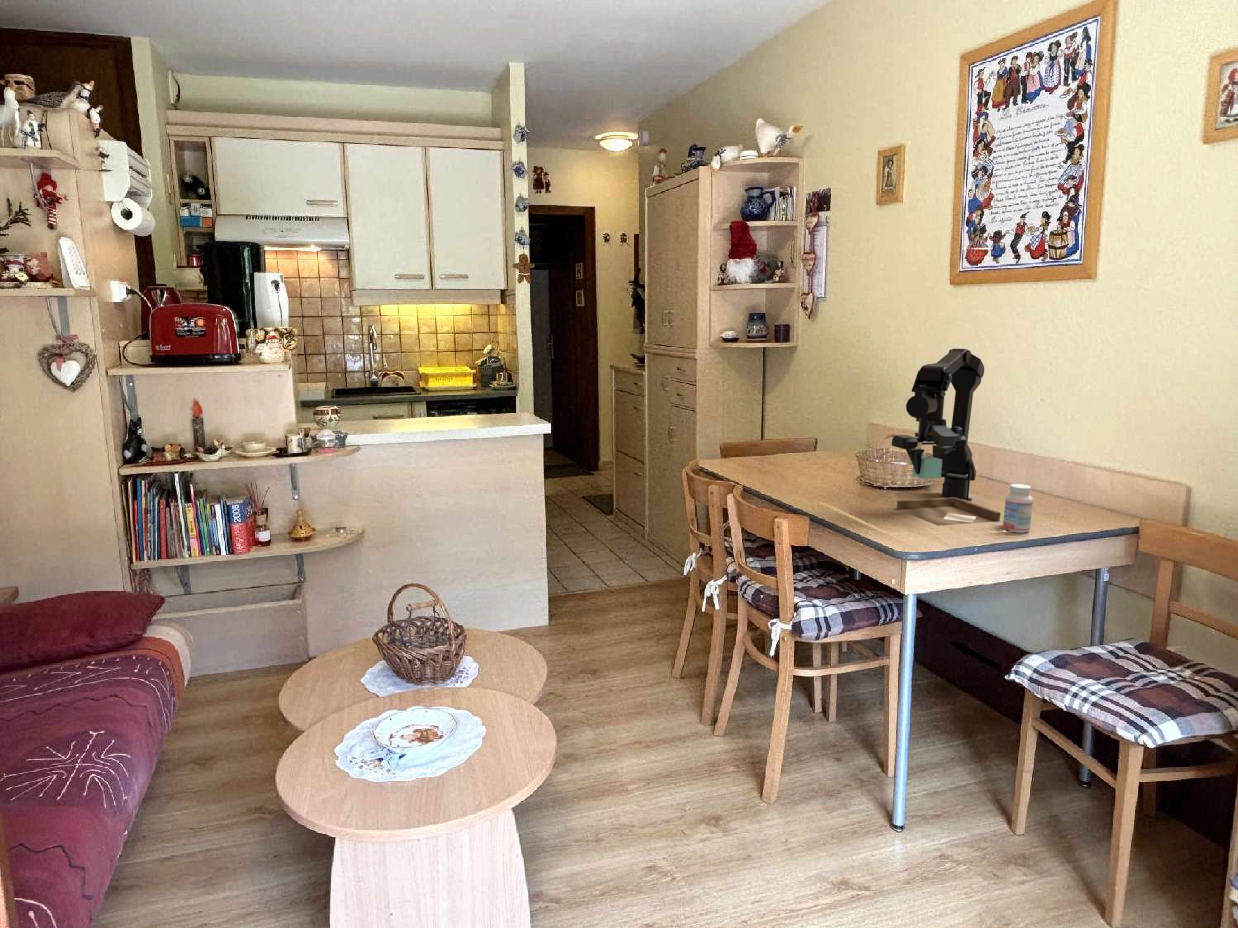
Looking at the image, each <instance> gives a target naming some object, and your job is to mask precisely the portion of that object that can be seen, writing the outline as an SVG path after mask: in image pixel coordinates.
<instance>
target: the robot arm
mask: <svg viewBox="0 0 1238 928" xmlns="http://www.w3.org/2000/svg"><path fill="white" fill-rule="evenodd" d="M982 361H983V360H982V359H981V358H979V357H977V356H976V355H974V354H972V351H971V350H970V349H967V348H952V349H949V350H948V353H946V354H945V355H944V356H943V357H941V359H939V360H938V361H937V362H935V363H934V362H933V363H928V364H924V365H922V366H921V367H920V369H919V370H918V371H917V374H916V375H915V380H914V382H913V385H912V388H911V393H914V395H912V396H910V398H908V399H907V402H906V404H905V410H906V412H907V414H908V415H909V416H910V417H912V418H915V421H916V422H918V430H917V432H915V433H914V436H912V435H908V434H899V435H897V434H896V435H893V438H892V439H891V446H892V447H895V448H899V449H902V450H905V451H906V454H907V455H908V458H909V459H910V463H911V464H912V468H913V467H914V470H915V472H916V474H920V469H921V456H922V455H923V453H924V452H925V449H923V448H922V445H923V446H927V445H929V446H930V445H931V446H932V457H936V458H939V459H942V469H941V478H944V479H943V483H942V489H941V490H942V491H941V498H950V497H956V498H959V499H962V500H965V501H968V502H970V501H971V502H972V501H973V498H971V497H970V495H969V494H970V485H971V484H970V482H971V481H976V474H977V470H976V467H975V464H974V461H973V452H972V450H971V449H970V446H969V445H968V442H969V441H968V440H969V433H970V423H971V415H972V414H971V413H972V406H973V400H974V399H973V398H974V392H975V391H976V390H977V389H978V387H979V386H980V385H981V383H982V378H983V377H984V374H985V365H984V363H983V362H982ZM951 384H952V387H953V389H954V391H955V394H954V402H953V410H952V420H951V427H948V426H947V419H945V418H944V407H945V396H946V392H947V391H948V389H949V387H950V385H951Z"/></svg>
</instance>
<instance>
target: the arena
mask: <svg viewBox="0 0 1238 928" xmlns="http://www.w3.org/2000/svg"><path fill="white" fill-rule="evenodd" d="M896 509H897V510H898V511H901V512H903V513H906V514H909V515H911V516H913V517H915V518H918V519H920V520H923V521H926V522H928V523H931V524H933V525H935V526H952V525H964V524H965V525H966V524H979V523H980V524H981V523H994V522H995V523H996V522H1000V521H1001V512H999V511H998V510H994V509H990V508H989V507H985V506H981V505H979V504H976V503H973V502H972V501H971V502H970V501H967V500H964V499H959V498H956V497H950V498H945V497H940V498H939V497H938V498H937V497H936V498H935V497H934V498H922V499H921V498H919V499H905V500H904V499H903V500H896Z"/></svg>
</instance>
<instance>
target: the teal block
mask: <svg viewBox="0 0 1238 928" xmlns="http://www.w3.org/2000/svg"><path fill="white" fill-rule="evenodd" d="M941 469H942V459H939V458H936V457H933V455H932V456H931V455H923V456H921V469H920V474H916V472H915V470H914V467H913V466H912V476H914V477H917V478H918V479H919V478H920V479H923V480H930V479H931V480H932V479H941V478H942V477H941Z"/></svg>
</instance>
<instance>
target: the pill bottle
mask: <svg viewBox="0 0 1238 928" xmlns="http://www.w3.org/2000/svg"><path fill="white" fill-rule="evenodd" d="M1031 492H1032V487H1031V486H1030V485H1027V484H1020V483H1013V484H1010V485H1009V493H1008V494H1007V495H1006V496H1005V502H1004V513H1003V521H1002V527H1003V528H1004V530H1005V531H1007V532H1011V533H1014V532H1016V533H1015V534H1019V533H1020V534H1022V533H1025V532H1026V533H1029V532H1030V531H1031V522H1032V512H1033V506H1034V498H1033V497H1032V496H1031V494H1030V493H1031Z"/></svg>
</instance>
